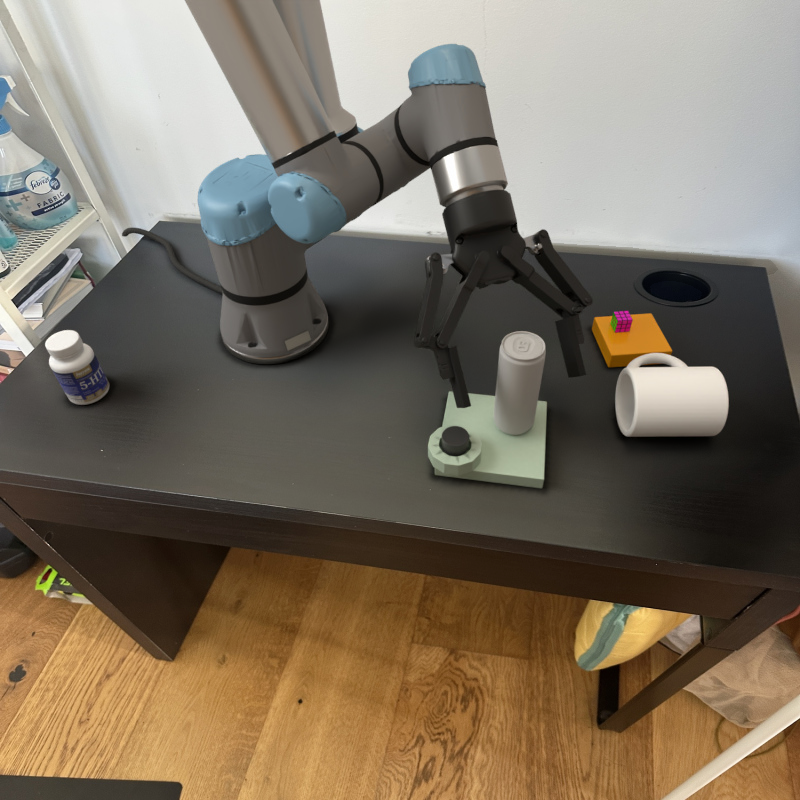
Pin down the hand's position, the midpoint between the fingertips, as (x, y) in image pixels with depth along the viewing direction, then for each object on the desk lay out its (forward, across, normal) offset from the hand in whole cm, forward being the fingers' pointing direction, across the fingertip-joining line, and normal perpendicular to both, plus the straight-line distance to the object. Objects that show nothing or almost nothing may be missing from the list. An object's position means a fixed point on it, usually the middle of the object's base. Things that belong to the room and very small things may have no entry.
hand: (521, 391), depth 68 cm
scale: (+5, +2, -6) cm, 9 cm away
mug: (+7, -18, -4) cm, 20 cm away
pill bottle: (-13, +48, -26) cm, 56 cm away
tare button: (+4, +8, -3) cm, 9 cm away
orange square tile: (-1, -22, -13) cm, 26 cm away
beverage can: (+4, 0, -6) cm, 7 cm away
